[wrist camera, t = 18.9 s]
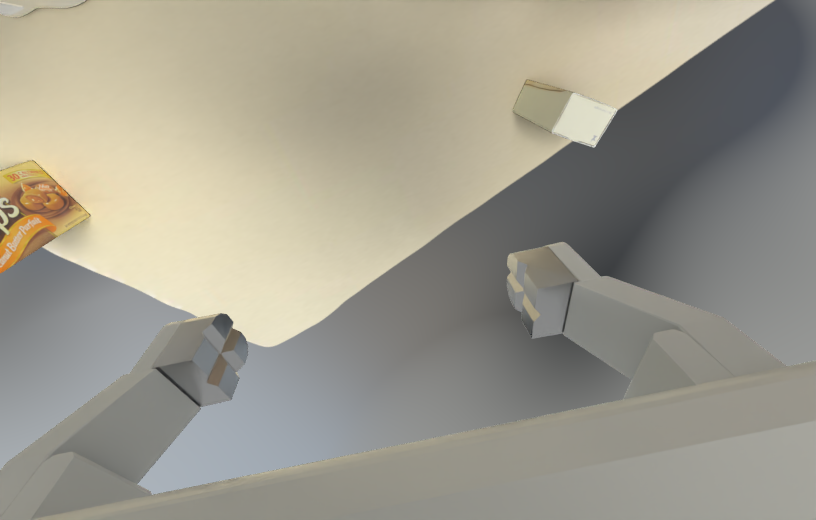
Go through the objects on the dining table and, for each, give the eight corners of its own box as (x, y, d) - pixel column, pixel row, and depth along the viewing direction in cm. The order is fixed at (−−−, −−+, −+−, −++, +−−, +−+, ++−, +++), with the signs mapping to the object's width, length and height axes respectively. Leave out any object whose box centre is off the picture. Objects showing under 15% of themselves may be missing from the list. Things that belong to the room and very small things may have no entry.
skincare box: (562, 93, 43) (621, 108, 33) (545, 125, 45) (596, 148, 35) (524, 78, 41) (574, 89, 31) (509, 112, 44) (551, 133, 34)
